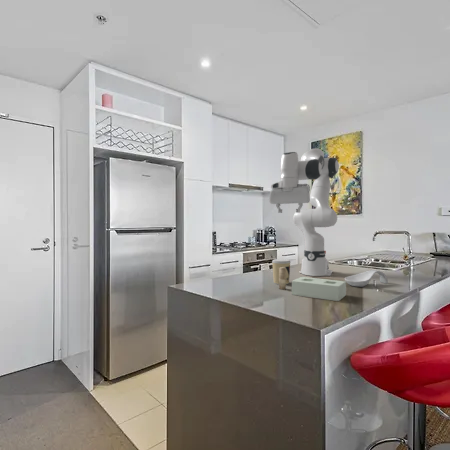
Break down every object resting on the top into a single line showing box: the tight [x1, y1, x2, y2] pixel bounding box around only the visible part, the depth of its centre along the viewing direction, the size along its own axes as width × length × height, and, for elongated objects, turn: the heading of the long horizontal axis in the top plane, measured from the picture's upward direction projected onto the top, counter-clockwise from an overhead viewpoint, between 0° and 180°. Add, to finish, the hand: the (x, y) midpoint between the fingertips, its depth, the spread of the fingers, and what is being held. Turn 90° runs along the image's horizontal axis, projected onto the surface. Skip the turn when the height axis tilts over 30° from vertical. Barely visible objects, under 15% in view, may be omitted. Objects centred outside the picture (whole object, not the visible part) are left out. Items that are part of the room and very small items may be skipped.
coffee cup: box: [271, 258, 291, 285], centre depth 162 cm, size 9×9×12 cm
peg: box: [278, 267, 287, 291], centre depth 149 cm, size 3×3×10 cm
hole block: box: [291, 276, 347, 302], centre depth 137 cm, size 12×20×6 cm, turn 55°
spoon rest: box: [344, 269, 389, 288], centre depth 158 cm, size 24×12×7 cm, turn 111°
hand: (289, 212), depth 155 cm, fingers open, 8 cm apart
